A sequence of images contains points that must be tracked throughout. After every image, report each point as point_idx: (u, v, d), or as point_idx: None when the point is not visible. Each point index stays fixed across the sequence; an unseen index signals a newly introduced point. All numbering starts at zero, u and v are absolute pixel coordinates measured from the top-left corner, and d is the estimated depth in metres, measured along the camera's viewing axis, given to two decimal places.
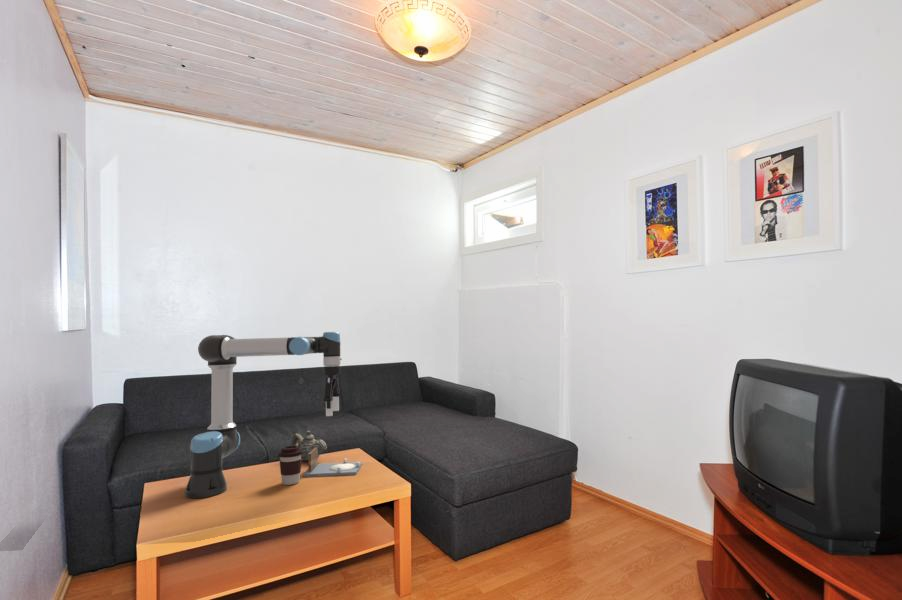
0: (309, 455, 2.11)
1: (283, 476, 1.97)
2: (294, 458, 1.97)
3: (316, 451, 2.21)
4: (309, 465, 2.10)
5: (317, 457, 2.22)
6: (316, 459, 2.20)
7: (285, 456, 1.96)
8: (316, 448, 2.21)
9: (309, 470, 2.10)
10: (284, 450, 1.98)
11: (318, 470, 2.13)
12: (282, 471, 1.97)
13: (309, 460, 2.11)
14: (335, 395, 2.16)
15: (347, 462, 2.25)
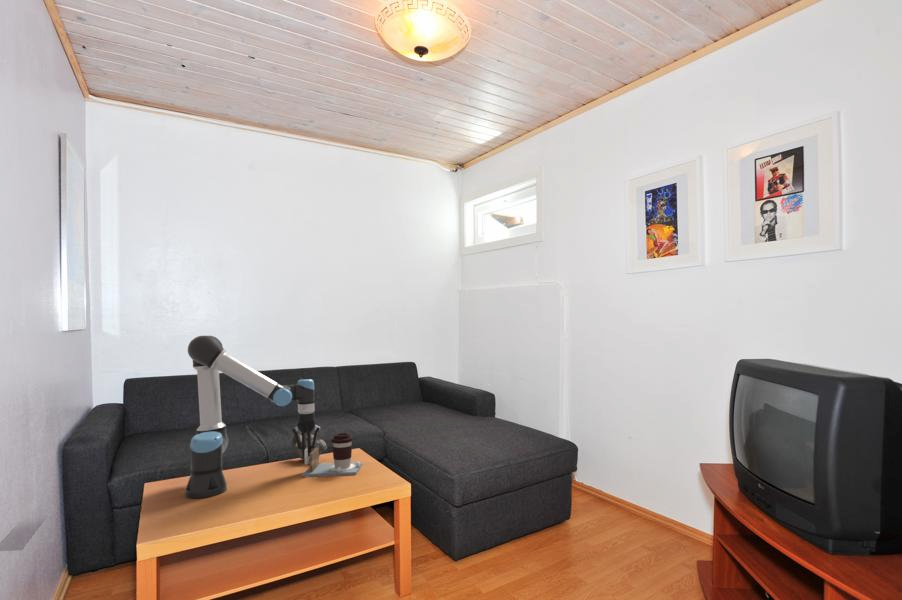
0: (310, 455, 2.11)
1: (336, 461, 2.14)
2: (346, 444, 2.14)
3: (317, 451, 2.21)
4: (310, 465, 2.10)
5: (318, 457, 2.22)
6: (317, 459, 2.20)
7: (338, 442, 2.13)
8: (317, 448, 2.21)
9: (310, 470, 2.10)
10: (337, 437, 2.15)
11: (318, 470, 2.13)
12: (335, 456, 2.14)
13: (310, 460, 2.11)
14: None
15: None
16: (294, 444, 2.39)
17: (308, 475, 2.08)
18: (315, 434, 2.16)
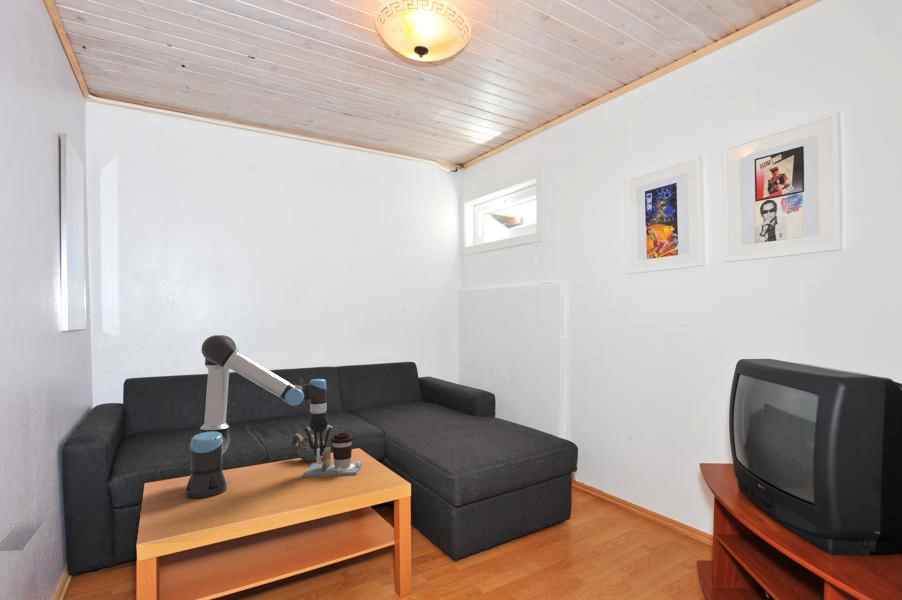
0: (323, 454, 2.11)
1: (336, 460, 2.14)
2: (346, 444, 2.14)
3: (329, 450, 2.21)
4: (323, 464, 2.11)
5: (330, 456, 2.22)
6: (329, 458, 2.20)
7: (338, 442, 2.13)
8: (329, 447, 2.21)
9: (323, 469, 2.10)
10: (337, 437, 2.15)
11: (318, 470, 2.13)
12: (335, 456, 2.14)
13: (323, 459, 2.11)
14: None
15: None
16: (294, 444, 2.39)
17: (308, 475, 2.08)
18: (327, 434, 2.16)
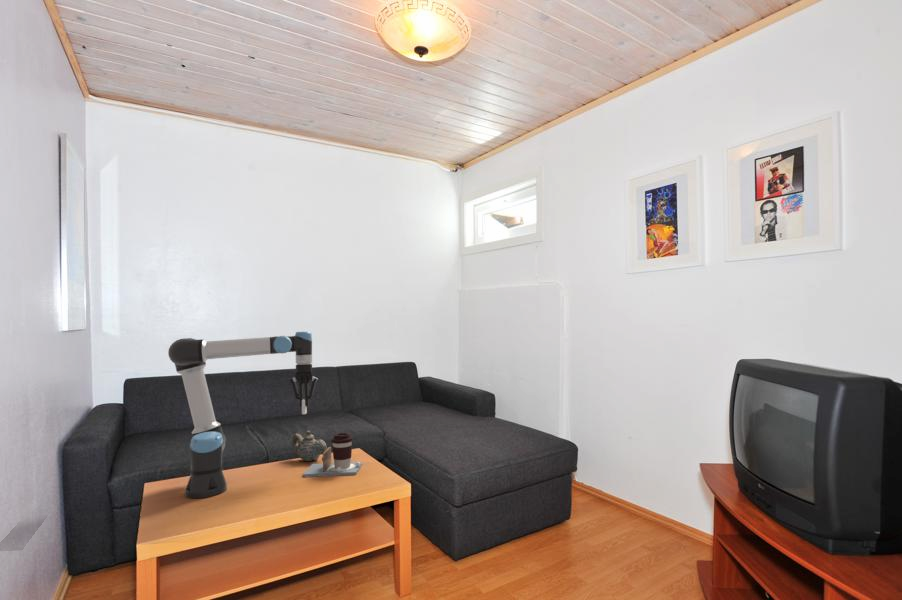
0: (323, 454, 2.11)
1: (336, 461, 2.14)
2: (346, 444, 2.14)
3: (330, 450, 2.21)
4: (323, 464, 2.11)
5: None
6: (330, 458, 2.20)
7: (338, 442, 2.13)
8: (330, 447, 2.21)
9: (323, 469, 2.10)
10: (337, 437, 2.15)
11: (318, 470, 2.13)
12: (335, 456, 2.14)
13: (323, 459, 2.11)
14: None
15: None
16: (294, 444, 2.39)
17: (308, 475, 2.08)
18: (312, 385, 2.20)
